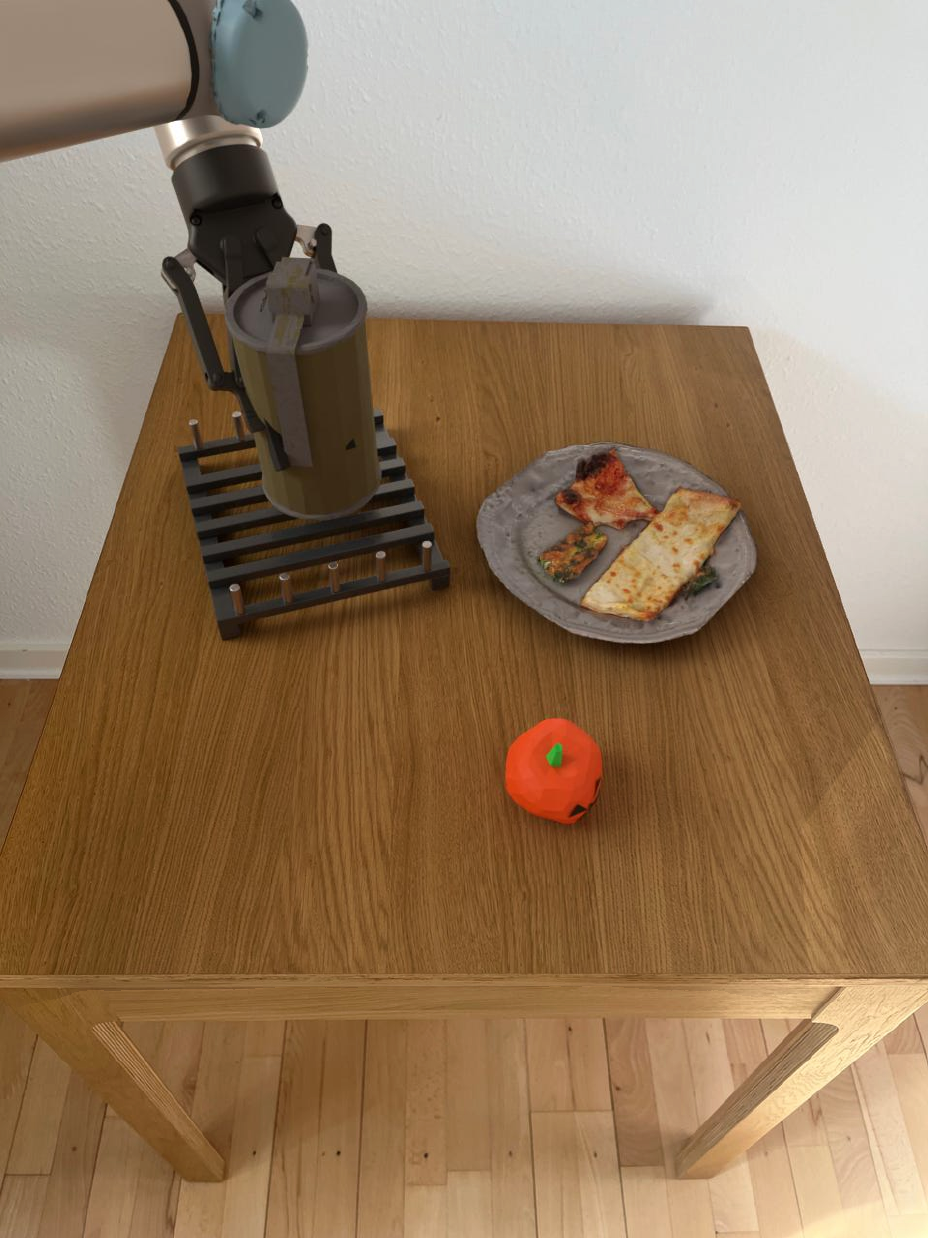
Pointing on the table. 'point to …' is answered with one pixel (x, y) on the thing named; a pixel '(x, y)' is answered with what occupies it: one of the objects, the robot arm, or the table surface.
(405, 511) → the dish rack
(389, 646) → the table surface
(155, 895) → the table surface
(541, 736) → the pumpkin
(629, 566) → the food plate
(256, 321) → the canister
